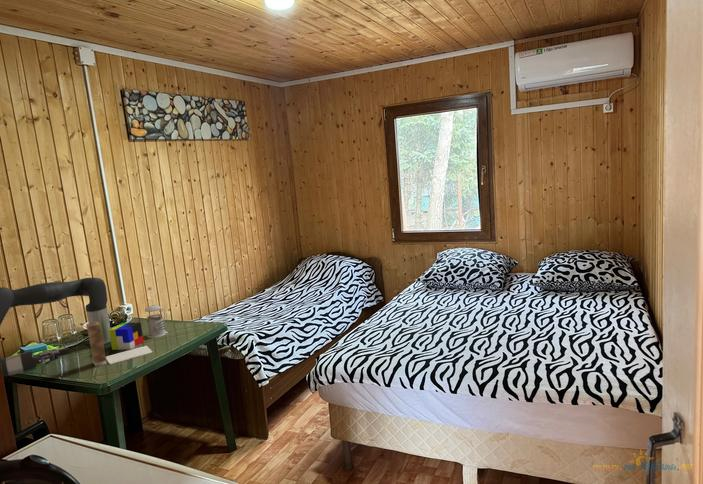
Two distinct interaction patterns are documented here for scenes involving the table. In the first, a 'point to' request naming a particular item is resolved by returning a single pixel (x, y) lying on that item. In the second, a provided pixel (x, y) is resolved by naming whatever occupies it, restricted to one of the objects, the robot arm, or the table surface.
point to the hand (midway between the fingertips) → (69, 350)
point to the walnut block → (96, 343)
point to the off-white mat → (128, 355)
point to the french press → (153, 329)
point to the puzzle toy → (126, 336)
